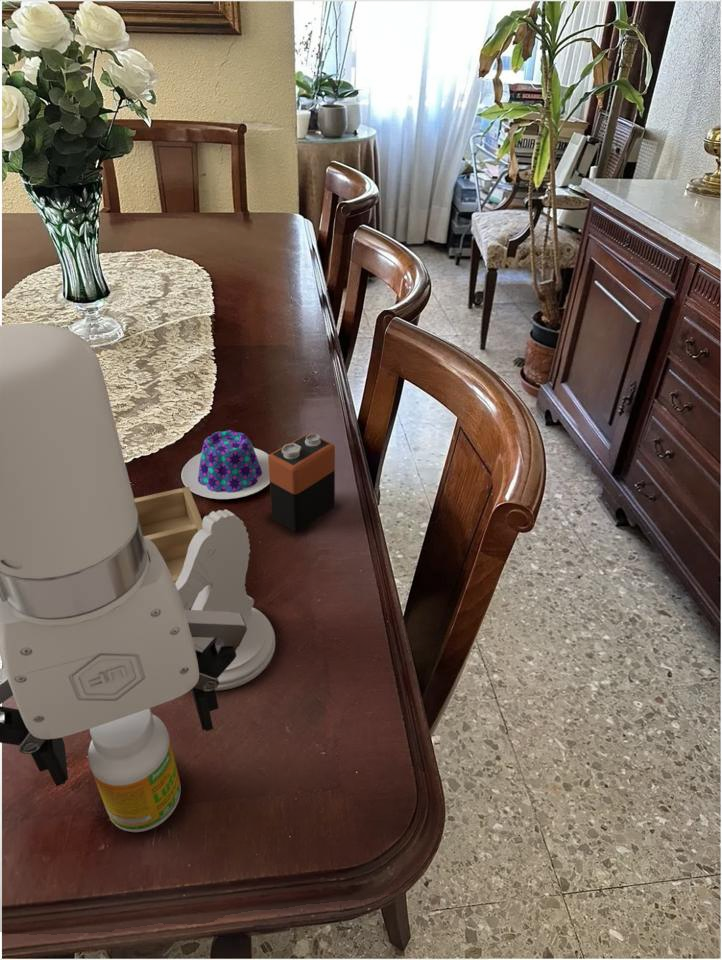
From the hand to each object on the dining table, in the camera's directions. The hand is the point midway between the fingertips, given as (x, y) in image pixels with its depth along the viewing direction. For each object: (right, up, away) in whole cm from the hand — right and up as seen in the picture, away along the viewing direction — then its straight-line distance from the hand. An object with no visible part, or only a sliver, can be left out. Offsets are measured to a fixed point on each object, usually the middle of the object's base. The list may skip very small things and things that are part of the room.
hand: (134, 739), depth 46 cm
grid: (-8, +8, +24) cm, 27 cm away
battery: (+9, +14, +33) cm, 37 cm away
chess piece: (+3, +2, +16) cm, 17 cm away
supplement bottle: (-1, -6, +4) cm, 8 cm away
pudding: (-1, +18, +39) cm, 43 cm away
